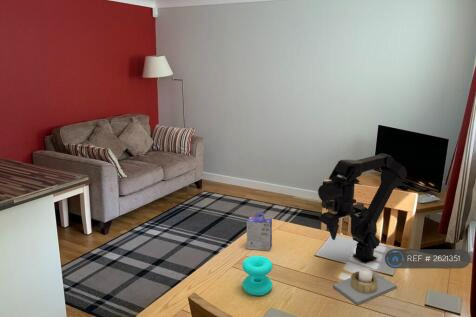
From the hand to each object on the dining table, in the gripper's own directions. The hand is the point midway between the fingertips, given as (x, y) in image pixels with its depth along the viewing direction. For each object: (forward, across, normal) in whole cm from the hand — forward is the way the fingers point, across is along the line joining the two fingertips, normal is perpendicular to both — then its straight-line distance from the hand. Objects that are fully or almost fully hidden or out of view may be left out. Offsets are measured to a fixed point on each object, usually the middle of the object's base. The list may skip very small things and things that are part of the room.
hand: (343, 236), depth 137 cm
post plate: (+12, +3, +14) cm, 19 cm away
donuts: (+12, +34, -4) cm, 36 cm away
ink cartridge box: (+12, +18, -28) cm, 35 cm away
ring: (+11, +4, +14) cm, 18 cm away
